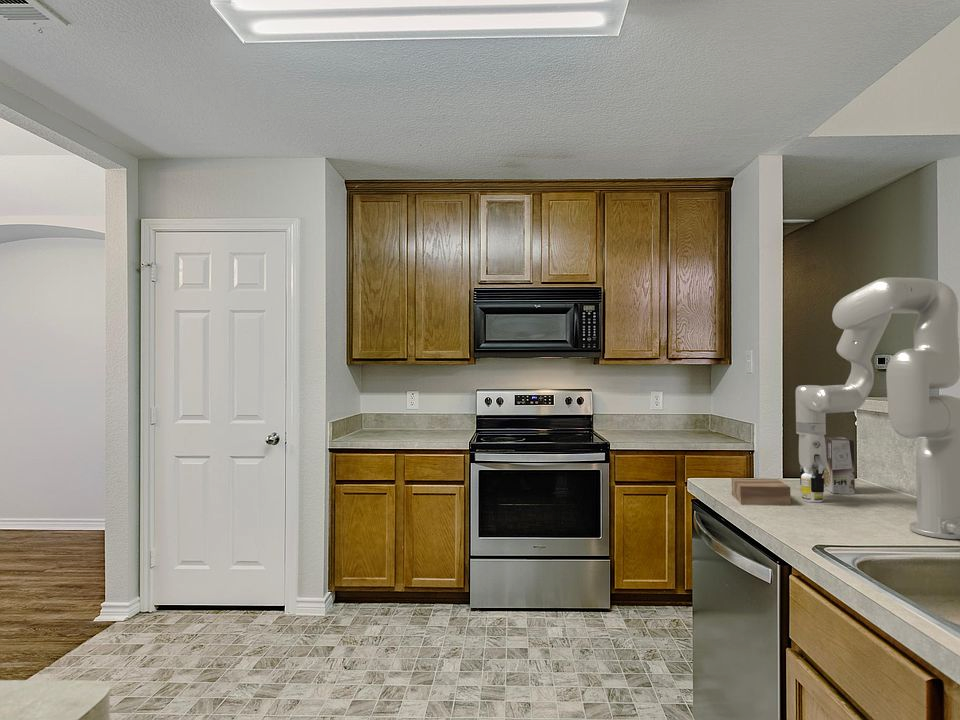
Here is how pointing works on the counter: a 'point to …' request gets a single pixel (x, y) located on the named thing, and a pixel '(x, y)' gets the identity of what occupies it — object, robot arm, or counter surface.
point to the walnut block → (761, 491)
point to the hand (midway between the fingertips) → (811, 488)
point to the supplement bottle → (809, 488)
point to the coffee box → (839, 465)
